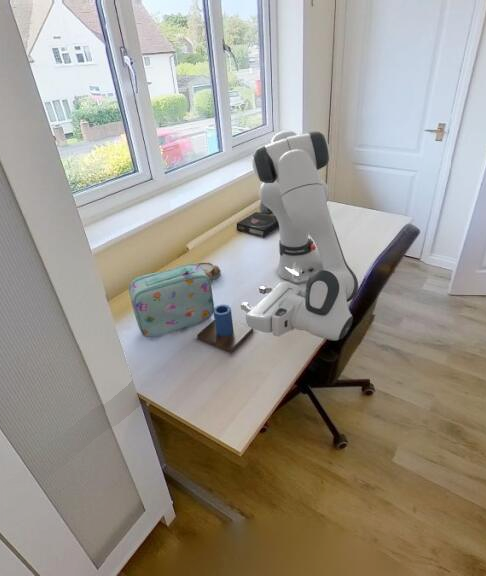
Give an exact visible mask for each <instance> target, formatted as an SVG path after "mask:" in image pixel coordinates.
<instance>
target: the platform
mask: <svg viewBox="0 0 486 576" xmlns="http://www.w3.org/2000/svg"><path fill="white" fill-rule="evenodd" d="M232 322H233V333H232V334H231V335H229V336H227V337H221V336H219V335H218V334H217V332H216V325H215V319H214V320H212V321H211V322H210V323H209V324H207V326H205V327H204V328H203V329H202V330H201V331H200V332H198V333H197V334H196V337H197V340H198V341H200V342H202V343H205V344H207V345H210V346H212V347H214V348H217V349H218V350H221V351H224V352H226V353H228V354H231V355H232V354H233V353H235V352H236V351H237V349H239V347H240V346H241V345H243V343H244V342H245V341H246V340H247V339H249V337H251V336H252V334H253V333H254V329H253V328H250V327H249V326H248V325H247V324H245V323H244V324H243V323H241V322H238V321H236V320H233V319H232Z"/></svg>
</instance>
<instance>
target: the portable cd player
mask: <svg viewBox="0 0 486 576" xmlns="http://www.w3.org/2000/svg"><path fill="white" fill-rule="evenodd" d="M235 228H236V231H238V232H242V233H245V234H249V235H253V236H257V237H260V238H263V239H265V238H266V237H267V236H269V235H270V234H272V233H273V232H275V231H276V230H278V229H279V223H278V220H277V218H276V216H275V215H272V214H269V213H267V214H264V213H262V212H261V211H255V212H253V213H251V214H250V215H248V216H246V217H244V218H243V219H241V220H239V221H238V222H236V227H235Z"/></svg>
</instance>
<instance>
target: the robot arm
mask: <svg viewBox="0 0 486 576" xmlns="http://www.w3.org/2000/svg"><path fill="white" fill-rule="evenodd" d="M330 151H331V150H330V145H329V142H328V140H327V138H326V137H325V135H324V134H323V133H322V132H321V131H308V132H307V133H301V134H298V133H296V132H295V131H292V130H287V129H286V130H281V131H279V132H277V133H276V134H274V136H273V137H272V139H271V141H270V143H268V144H263V145H261V146H259V147H257V148H256V149H254V151H253V153H252V162H251V163H252V169H253V172H254V175H255V176H256V177H257V178H258V180H259V181H260V182H262V183H261V185H260V186H259V190H258V196H259V200H260V203H261V202H262V203H263V205H264V206H266V207H267V208H269V209H270V210H271V211H272V214H273V216H276V218H277V220H278V223H279V228H278V229H279V242H278V252H279V262H278V267H277V270H276V273H277V275H278V276H279V277H280V278H282V279H284V280H283V281H280V282H279V283H278V284H277V285H276V286H273V285H272V286H264V285H261V286H260V287H259V288H258V292H259V294H262V295H265V294H266V295H265V296H264V297H263V298H262V299H261V300H260V301H259V302H258V303H257V304H256V305H255V306H254V307H253V306H250V305H249V303H248V302H245V301H244V302H242V303H241V304H240V310H242V311H244V312H246V314H245V321H246V325H247V326H249V327H250V328H253V330H256V331H258V332H262V333H265V334H266V333H267V334H269V333H272V335H273V336H274V337H282V336H283V335H285V334H286V333H289V332H291V331H293V330H295V329H296V330H298V331H305V332H307V333H308V334H310V335H312V336H315V337H318V338H321V339H325V340H328V341H335V342H336V341H340V340H342V339H343V338H344V337H346V336H347V334H348V333H349V331H350V330H351V328H352V325H353V321H354V316H353V314H352V313H351V311H350V307H349V304H348V303H349V302H350V301H352V300H353V299H354V298H356V295H357V293H358V290H359V281H358V278H357V275H356V274H355V272H354V271H353V270H352V269H351V268H350V266H349V265H348V263H347V261H346V258H345V255H344V252H343V250H342V247H341V244H340V241H339V238H338V233H337V232H336V229H335V227H334V223H333V220H332V216H331V213H330V210H329V207H328V206H329V205H328V202H329V198H330V189H329V186H328V184H327V183H326V181H324V180H322V179H321V176H320V174H319V170H322V169H323V168H324V167H326V166H327V165H328V163H329V161H330V154H331V153H330ZM286 280H287V281H286ZM289 281H290V282H289ZM303 283H306V285H305V289H304V288H302V287H300V285H297V284H303Z"/></svg>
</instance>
